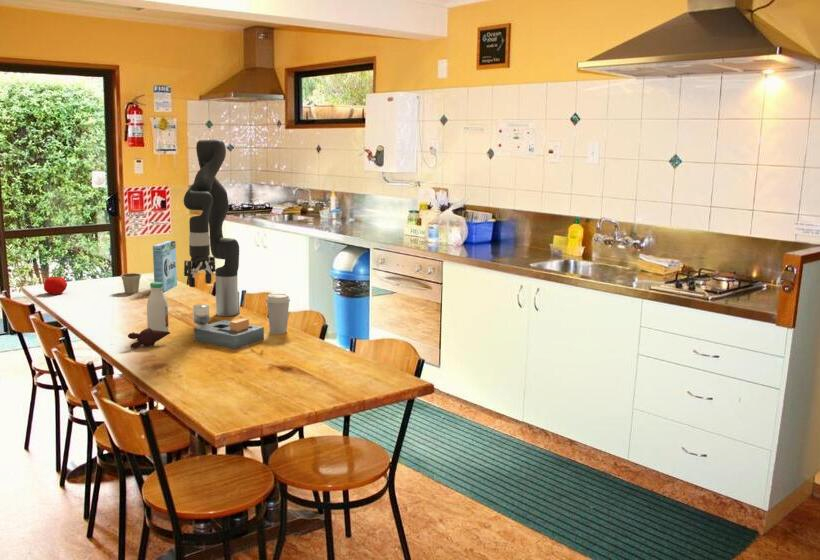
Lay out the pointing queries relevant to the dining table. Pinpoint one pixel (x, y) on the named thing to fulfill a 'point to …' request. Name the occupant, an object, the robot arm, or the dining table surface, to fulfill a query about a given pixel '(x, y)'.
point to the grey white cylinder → (201, 314)
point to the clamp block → (239, 324)
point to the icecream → (147, 337)
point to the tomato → (55, 285)
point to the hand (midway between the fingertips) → (200, 285)
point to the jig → (228, 335)
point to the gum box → (165, 264)
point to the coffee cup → (278, 312)
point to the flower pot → (131, 282)
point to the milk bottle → (157, 308)
